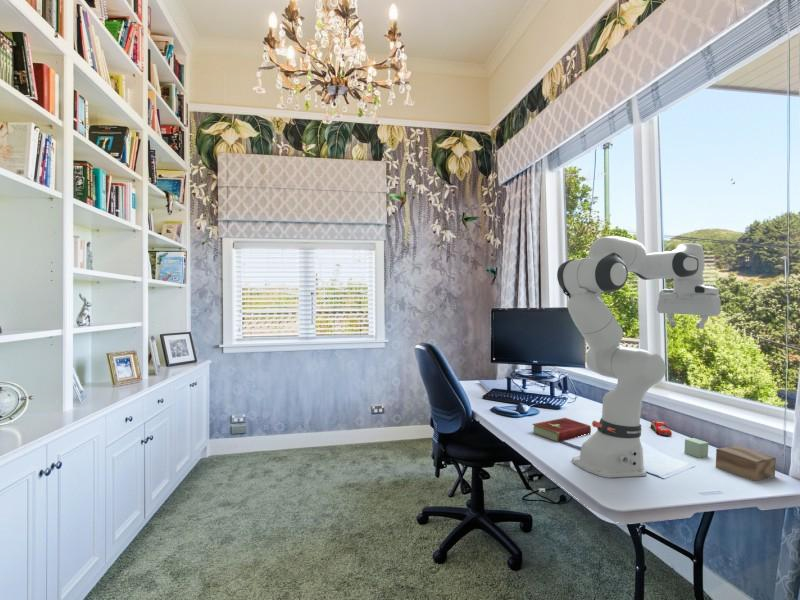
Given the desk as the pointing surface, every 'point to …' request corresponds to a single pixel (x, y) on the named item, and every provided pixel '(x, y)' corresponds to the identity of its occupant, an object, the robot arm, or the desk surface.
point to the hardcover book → (561, 429)
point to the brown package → (745, 462)
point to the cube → (696, 447)
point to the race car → (661, 428)
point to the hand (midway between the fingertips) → (686, 327)
